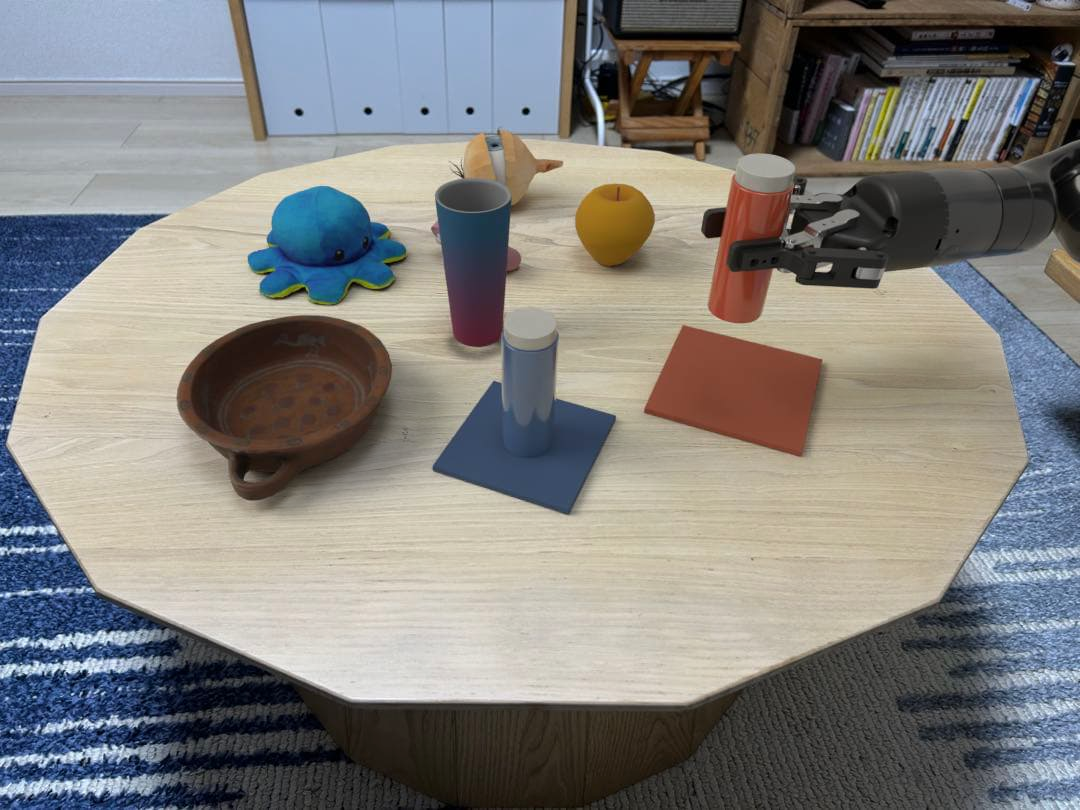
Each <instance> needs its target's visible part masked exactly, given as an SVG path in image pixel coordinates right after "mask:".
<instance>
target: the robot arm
mask: <svg viewBox="0 0 1080 810" xmlns="http://www.w3.org/2000/svg"><path fill="white" fill-rule="evenodd" d="M793 183H794V189H793V193H792V197H791V201H790V205H789V209H788V213H787V217H786V221H785V225H784V228H783V232H782V236H781V240H780V238H779V237H770V238H760V239H750V240H740V241H735V242H733V243H732V244H731V245H730V247H729V252H728V257H727V262H726V264H727V266H728V267H729V269H730V270H731V271H732V272H740V271H755V270H756V271H757V270H766V269H773V270H775V269H776V270H777V271H778V272H780V273H782V274H791V273H792V274H794V275H795V279H794V280H795V282H796V283H797V284H798V285H802V286H809V287H810V286H812V287H830V288H831V287H832V288H853V289H871V290H872V289H877V288H879V286H880V283H881V280H882V278H883V276H884V273H889V272H897V271H906V270H907V271H908V270H915V269H921V268H922V269H923V268H930V267H932V268H933V267H941V266H948V265H953V264H957V263H961V262H965V261H967V260H974V259H985V258H992V257H993V258H994V257H1001V256H1002V257H1003V256H1010V255H1017V254H1023V253H1025V252H1029V251H1031V250H1034V249H1035V248H1037V247H1039V246H1040V245H1041V244H1043V243H1044V242H1046V240H1047V239H1048V238H1049V236H1050V235H1051V234H1052V233H1053V234H1054V236H1055V237H1056V238H1057V240H1058V242H1059V244H1060V245H1061V246H1062V249H1064V251H1065V252H1066V254H1067V255H1068V256H1069V257H1070V258H1071V259H1072V260H1073V261H1075V262H1076V263H1077V264H1080V139H1077V140H1074V141H1071V142H1069V143H1066V144H1064V145H1062V146H1059V147H1057V148H1055V149H1053V150H1051V151H1049V152H1046V153H1043V154H1041V155H1038V156H1035V157H1032V158H1030V159H1027V160H1023V161H1021V162H1019V163H1016V164H1013V165H1010V166H997V167H986V168H976V169H975V168H974V169H963V168H937V169H935V168H934V169H925V170H915V171H914V170H913V171H903V172H902V171H901V172H892V173H880V174H870V175H867V176H864V177H862V178H861V179H859V180H858V181H857V182H856V183H854V184H853V186H852V187H851V188H849V189H848V190H847V191H845V192H844V193H842V194H841V193H829V192H819V193H816V194H814V193H813V192H811V191H809V190H807V189H806V187H807V185H808V179H807V178H806V177H803V176H794V177H793ZM725 211H726V206H725V207H724V206H723V207H713V208H708V209H706V210H705V211H704V212H703V216H702V222H701V227H700V232H701V233H702V235H703V236H704V238H706V239H720V237H721V232H722V226H723V221H724V216H725ZM790 215H793V216H792V218H791V223H790V228H787V227H788V222H789V219H790ZM829 265H831V266H830V267H831V268H830V270H829V271H816V270H818V269H820V268H821V269H822V268H824V267H827V266H829Z"/></svg>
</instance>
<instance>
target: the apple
mask: <svg viewBox="0 0 1080 810" xmlns="http://www.w3.org/2000/svg"><path fill="white" fill-rule="evenodd" d="M654 211H655V210H654V208H653V205H652V203H651V202H650V201H649V199H648V198H647V196H646V195H645V194H644V193H643V192H642V191H641V190H639V189H638V188H636V187H634V186H632V185H629V184H625V183H605V184H602V185H599V186H597V187H594V188H593V189H592V190H590V191H589V192H588V194H586V195H585V196H584V197H583V198H582V199H581V200H580V202H579V205H578V207H577V209H576V212H575V216H574V223H575V224H574V227H575V230H576V234H577V236H578V239H579V241H580V242H581V244H582V245H583V247H584V249H585V250H586V252H587V253H588V254H589V255H590V257H591V258H592V260H594V261H595V262H597V263H598V264H599V265H602V266H604V267H613V266H618V265H621V264H623V263H625V262H626V261H628V260H629V259H630V258H631V257H632V256H633V255H635V254H636V253H637V252H639V251H640V250H641V249H642V247H643V246H644V245H645V243H646V242H647V240H648V239H649V237H650V236H651V234H652V232H653V229H654V226H655V223H656V214H655V212H654Z"/></svg>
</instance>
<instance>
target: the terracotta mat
mask: <svg viewBox="0 0 1080 810" xmlns="http://www.w3.org/2000/svg"><path fill="white" fill-rule="evenodd" d="M822 362H823V359H822V358H818V357H815V356H811V355H807V354H802V353H799V352H795V351H790V350H786V349H782V348H778V347H775V346H770V345H766V344H762V343H758V342H754V341H751V340H750V341H749V340H745V339H742V338H737V337H733V336H730V335H726V334H721V333H717V332H714V331H709V330H705V329H702V328H697V327H693V326H689V325H684V324H683V325H682V326H681V328H680V330H679V332H678V334H677V337H676V338H675V341H674V343H673V346H672V348H671V349H670V352H669V354H668V356H667V359H666V361H665V363H664V365H663V366H662V369H661V371H660V374H659V375H658V378H657V380H656V382H655V384H654V386H653V387H652V391H651V393H650V395H649V398H648V399H647V402H646V404H645V405H644V408H643V409H644V410H643V412H644V413H645V414H648V415H651V416H652V415H653V416H656V417H659V418H663V419H665V420H670V421H673V422H677V423H680V424H684V425H687V426H691V427H695V428H698V429H701V430H706V431H709V432H713V433H716V434H719V435H723V436H725V437H726V436H727V437H730V438H734V439H737V440H741V441H745V442H748V443H751V444H754V445H758V446H762V447H766V448H769V449H773V450H777V451H781V452H784V453H787V454H791V455H795V456H798V457H802V455H803V452H804V448H805V443H806V438H807V433H808V428H809V424H810V420H811V414H812V409H813V405H814V400H815V397H816V396H815V394H816V391H817V386H818V381H819V376H820V372H821V367H822V364H823V363H822Z"/></svg>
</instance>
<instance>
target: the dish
mask: <svg viewBox="0 0 1080 810" xmlns="http://www.w3.org/2000/svg"><path fill="white" fill-rule="evenodd" d="M392 374H393V366H392V362H391V357H390V354H389V351H388V349H387V348H386V346H385V344H384V343H383V342H382V340H381V339H380V338H378V336H376V335H375V334H374V333H373V332H371V331H370V330H369V329H367V328H366V327H364V326H362V325H360V324H357V323H354V322H351V321H349V320H345V319H342V318H337V317H332V316H327V315H316V314H313V315H312V314H299V315H298V314H297V315H289V316H282V317H276V318H271V319H266V320H261V321H256V322H253V323H249V324H247V325H244V326H242V327H238V328H237V329H235V330H233V331H229V332H228V333H226V334H224V335H223V336H221V337H219V338H217V339H215V340H214V341H212V342H211V343H210V344H207V346H205V347H204V348H203V349H201V351H199V353H198V354H196V355H195V357H194V358H193V359H192V360H191V361H190V363H188V366H187V367H185V370H184V371H183V373H182V375H181V378H180V380H179V382H178V387H177V390H176V407H177V411H178V413H179V415H180V418H181V419H182V420H183V422H184V423H185V425H186V426H187V427H188V429H190V430H191V431H192V432H193V433H195V435H197V436H198V437H199V438H201V439H202V440H203V441H206V442H207V443H208V444H209V445H210V446H211V447H212V448H213V449H214V450H216V451H217V452H218V453H219V454H221V456H223V457H224V458H225V459H227V460H228V466H227V467H228V468H227V470H228V475H229V479H230V482H231V485H232V487H233V489H234V491H235V493H236V494H237V495H238V497H240V498H241V499H243V500H246V501H249V502H251V501H252V502H256V501H260V500H261V501H262V500H265V499H268V498H271V497H274V496H275V495H277V494H279V493H280V492H282V491H284V490H285V489H286V488H287V487H288V486H289V485H290V484H291V483H292V482H293V480H294V479H295V478H296V477H297V476H298V474H299V473H300V472H301V471H302V470H304V469H307V468H310V467H314V466H317V465H319V464H322V463H324V462H327V461H329V460H331V459H333V458H335V457H337V456H339V455H341V454H342V453H344V452H346V451H347V450H348V449H350V448H351V447H353V445H355V444H356V443H357V442H358V441H359V440H360V439H361V438H362V437H363V436H364V435H365V433H366V432H367V431H368V430H369V428H370V427H371V426H372V424H373V421H374V420H375V417H376V416H377V413H378V410H379V407H380V405H381V402H382V400H383V398H384V397H385V395H386V393H387V391H388V389H389V387H390V383H391V379H392ZM251 471H254V472H255V471H256V472H275V473H274V474H271V475H270V476H269V477H267V478H266V479H263V480H261V481H255V482H252V481H246V480H244V479H245V476H246V475H247V473H248V472H251Z"/></svg>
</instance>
